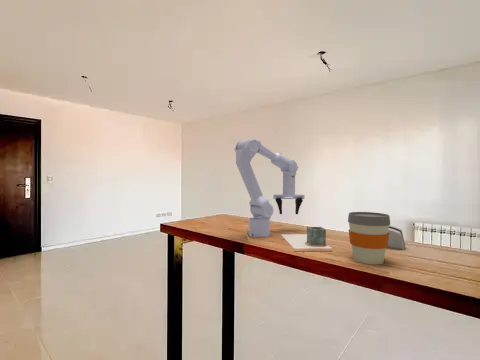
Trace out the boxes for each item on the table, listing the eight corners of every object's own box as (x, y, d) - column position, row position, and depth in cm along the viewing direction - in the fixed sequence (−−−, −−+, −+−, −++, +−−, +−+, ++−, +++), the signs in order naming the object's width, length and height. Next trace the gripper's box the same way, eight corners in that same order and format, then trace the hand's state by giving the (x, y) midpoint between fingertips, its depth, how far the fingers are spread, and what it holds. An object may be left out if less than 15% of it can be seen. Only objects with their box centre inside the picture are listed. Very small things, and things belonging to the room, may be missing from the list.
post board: (294, 251, 97) (294, 234, 97) (281, 237, 121) (281, 223, 121) (332, 251, 98) (332, 234, 98) (312, 236, 122) (312, 223, 122)
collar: (310, 245, 101) (311, 229, 101) (306, 241, 107) (306, 226, 106) (325, 245, 101) (325, 229, 101) (320, 241, 107) (320, 226, 107)
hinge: (406, 246, 105) (405, 224, 102) (404, 253, 102) (403, 230, 99) (360, 240, 116) (358, 219, 113) (357, 246, 112) (355, 224, 109)
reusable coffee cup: (353, 252, 97) (354, 210, 97) (393, 259, 89) (393, 214, 89) (342, 260, 87) (342, 214, 87) (385, 269, 79) (385, 218, 79)
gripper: (275, 185, 124) (275, 215, 124) (306, 185, 125) (306, 215, 125) (272, 185, 131) (272, 213, 131) (302, 185, 132) (302, 213, 132)
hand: (288, 214), depth 128 cm, fingers open, 7 cm apart
